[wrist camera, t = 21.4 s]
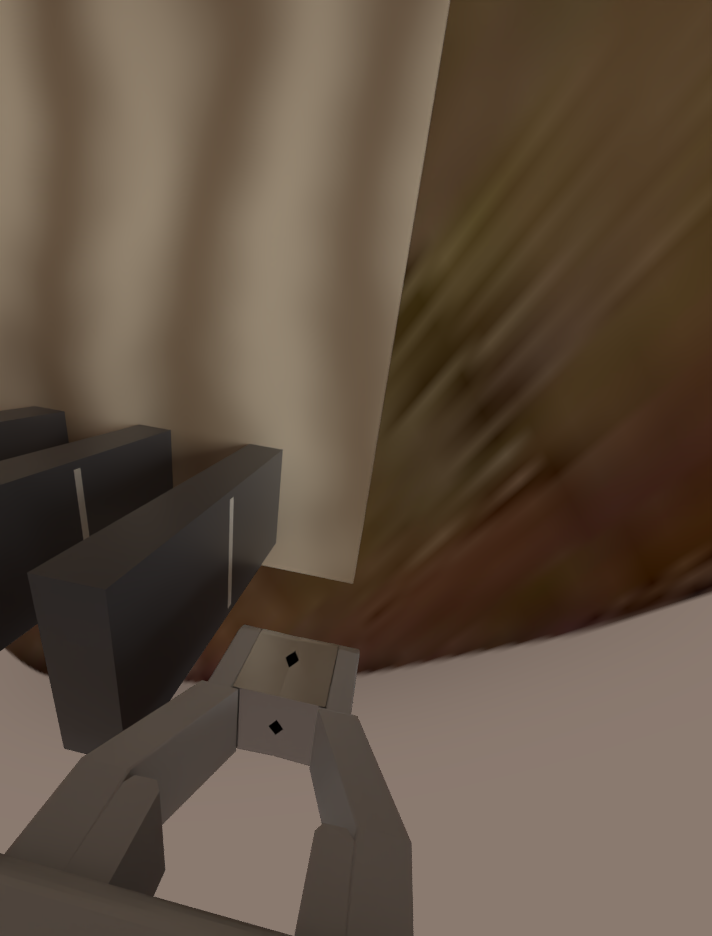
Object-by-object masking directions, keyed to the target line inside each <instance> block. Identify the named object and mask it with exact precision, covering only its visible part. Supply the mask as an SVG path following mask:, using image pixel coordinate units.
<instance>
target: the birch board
mask: <svg viewBox="0 0 712 936" xmlns="http://www.w3.org/2000/svg"><path fill="white" fill-rule="evenodd" d="M449 6H450V0H0V411H2V410H9V409H17V408H24V407H31V406H37V407H43V408H49V409H54V410H60V411H64V412H65V419H66V426H67V433H68V440H69V443H70V442H74V441H78V440H82V439H86V438H90V437H93V436H97V435H101V434H105V433H109V432H112V431H116V430H120V429H124V428H128V427H131V426H135V425H139V424H140V425H145V426H151V427H157V428H162V429H168V430H171V447H172V473H173V488H174V487H176V486H178V485H179V484H181V483H183V482H185V481H186V480H188V479H190V478H191V477H193V476H195V475H197V474H198V473H200V472H202V471H204V470H205V469H207V468H209V467H210V466H212V465H214V464H216V463H217V462H219V461H221V460H223V459H224V458H226V457H228V456H229V455H231V454H233V453H235V452H236V451H238V450H240V449H242V448H243V447H245V446H247V445H248V444H254V445H259V446H265V447H271V448H276V449H282V450H283V454H282V468H281V482H280V495H279V509H278V523H277V536H276V544H275V545H274V547H273V548H272V550H271V551H270V553H269V554H268V556H267V557H266V559H265V560H264V562H263V563H262V565H263V566H268V567H273V568H278V569H283V570H288V571H293V572H298V573H303V574H308V575H313V576H318V577H323V578H327V579H332V580H337V581H342V582H347V583H352V584H353V580H354V576H355V571H356V565H357V559H358V553H359V547H360V541H361V535H362V529H363V523H364V517H365V511H366V505H367V499H368V493H369V487H370V481H371V475H372V469H373V463H374V457H375V451H376V445H377V439H378V433H379V427H380V421H381V415H382V409H383V403H384V397H385V391H386V385H387V379H388V373H389V367H390V361H391V355H392V349H393V343H394V337H395V331H396V325H397V319H398V313H399V307H400V301H401V295H402V289H403V283H404V277H405V271H406V265H407V259H408V253H409V247H410V241H411V236H412V230H413V224H414V218H415V212H416V206H417V200H418V194H419V188H420V182H421V176H422V170H423V164H424V158H425V152H426V146H427V140H428V134H429V128H430V122H431V116H432V110H433V104H434V98H435V92H436V86H437V80H438V74H439V68H440V62H441V56H442V50H443V44H444V38H445V32H446V26H447V20H448V13H449Z"/></svg>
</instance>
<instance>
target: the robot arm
mask: <svg viewBox="0 0 712 936" xmlns="http://www.w3.org/2000/svg"><path fill="white" fill-rule="evenodd" d="M358 661H359V649H355V648H350V647H345V646H339V645H336V644H331V643H326V642H321V641H316V640H311V639H306V638H299V637H295V636H291V635H287V634H283V633H279V632H275V631H270V630H266V629H261V628H257V627H252V626H248V625H243V626H242V627H241V628H240V629H239V631H238V632H237V634H236V636H235V637H234V639H233V641H232V642H231V644H230V646H229V647H228V649H227V651H226V652H225V654H224V656H223V657H222V659H221V661H220V662H219V664H218V666H217V667H216V669H215V671H214V673H213V674H212V676H211V678H210V679H209V681H208V682H207V681H200V682H199V683H197V684H196V685H194V686H193V687H191V688H189V689H188V690H186V691H185V692H183V693H182V694H180V695H178V696H177V697H175V698H174V699H172V700H171V701H169V702H168V703H166V704H164V705H163V706H161V707H160V708H158V709H157V710H155V711H154V712H152V713H150V714H149V715H147V716H146V717H144V718H143V719H141V720H140V721H138V722H136V723H135V724H133V725H132V726H130V727H129V728H127V729H126V730H124V731H122V732H121V733H119V734H118V735H116V736H115V737H113V738H112V739H110V740H108V741H107V742H105V743H104V744H102V745H101V746H99V747H98V748H96V749H94V750H93V751H91V752H90V753H88V754H87V755H85V756H84V757H82V758H81V759H80V760H79V762H78V763H77V764H76V765H75V767H74V768H73V769H72V770H71V772H70V773H69V774H68V775H67V776H66V778H65V779H64V780H63V781H62V783H61V784H60V785H59V787H58V788H57V789H56V790H55V792H54V793H53V794H52V795H51V797H50V798H49V799H48V800H47V801H46V803H45V804H44V805H43V806H42V808H41V809H40V810H39V811H38V813H37V814H36V815H35V816H34V818H33V819H32V820H31V822H30V823H29V824H28V825H27V827H26V828H25V829H24V830H23V831H22V833H21V834H20V835H19V837H18V838H17V839H16V840H15V841H14V843H13V844H12V845H11V846H10V848H9V849H8V850H7V852H6V853H5V854H1V853H0V936H292V935H288V934H285V933H281V932H278V931H274V930H270V929H267V928H263V927H260V926H256V925H252V924H249V923H246V922H242V921H239V920H235V919H231V918H228V917H224V916H221V915H217V914H213V913H210V912H207V911H203V910H200V909H196V908H192V907H189V906H185V905H182V904H178V903H175V902H171V901H167V900H164V899H160V898H157V897H153V896H154V894H155V892H156V890H157V887H158V885H159V883H160V881H161V878H162V876H163V874H164V872H165V860H164V846H163V832H162V824H163V823H164V822H165V821H166V820H167V819H168V818H169V817H170V816H171V815H172V814H173V813H174V812H175V811H176V810H177V809H178V808H179V807H180V806H181V805H182V804H183V803H184V802H185V801H186V800H187V799H188V798H189V797H190V796H191V795H192V794H193V793H194V792H195V791H196V790H197V789H198V788H199V787H200V786H201V785H202V784H203V783H204V782H205V781H206V780H207V779H208V778H209V777H210V776H211V775H212V774H213V773H214V772H215V771H216V770H217V769H218V768H219V767H220V766H221V765H222V764H223V763H224V762H225V761H226V760H227V759H228V758H229V757H230V756H231V755H232V754H233V753H234V752H235V751H236V748H238V749H243V750H248V751H253V752H258V753H262V754H268V755H274V756H276V757H280V758H283V759H287V760H290V761H294V762H298V763H301V764H305V765H308V766H310V772H311V777H312V781H313V786H314V791H315V795H316V799H317V804H318V809H319V813H320V818H321V822H322V825H321V826H320V827H318V828H317V829H316V830H315V833H314V838H313V843H312V849H311V853H310V859H309V864H308V869H307V874H306V879H305V884H304V890H303V895H302V900H301V905H300V910H299V915H298V920H297V925H296V931H295V936H413V895H412V848H411V841H410V839H409V836H408V834H407V831H406V829H405V827H404V824H403V822H402V820H401V817H400V815H399V813H398V810H397V808H396V806H395V804H394V801H393V799H392V796H391V794H390V792H389V789H388V787H387V785H386V782H385V780H384V777H383V775H382V773H381V770H380V768H379V766H378V763H377V761H376V759H375V756H374V754H373V752H372V749H371V747H370V745H369V742H368V740H367V738H366V735H365V733H364V731H363V728H362V726H361V723H360V721H359V719H358V716H355V715H351V711H352V704H353V696H354V688H355V681H356V675H357V668H358Z"/></svg>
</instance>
